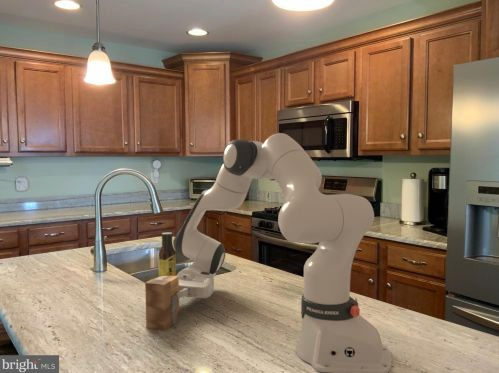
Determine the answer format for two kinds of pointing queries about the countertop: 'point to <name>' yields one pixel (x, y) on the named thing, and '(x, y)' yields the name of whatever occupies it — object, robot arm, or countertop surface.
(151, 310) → the hinge post
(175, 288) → the light brown wooden block
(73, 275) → the countertop surface
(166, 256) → the sauce bottle
